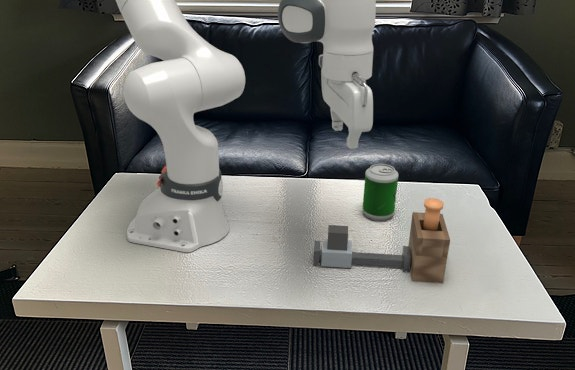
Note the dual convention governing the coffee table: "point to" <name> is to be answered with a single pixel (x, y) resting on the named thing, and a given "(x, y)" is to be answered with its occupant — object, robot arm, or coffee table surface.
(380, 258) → the rail
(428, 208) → the plunger
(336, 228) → the carriage
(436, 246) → the wooden box with opening
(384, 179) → the soda can
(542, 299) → the coffee table surface
